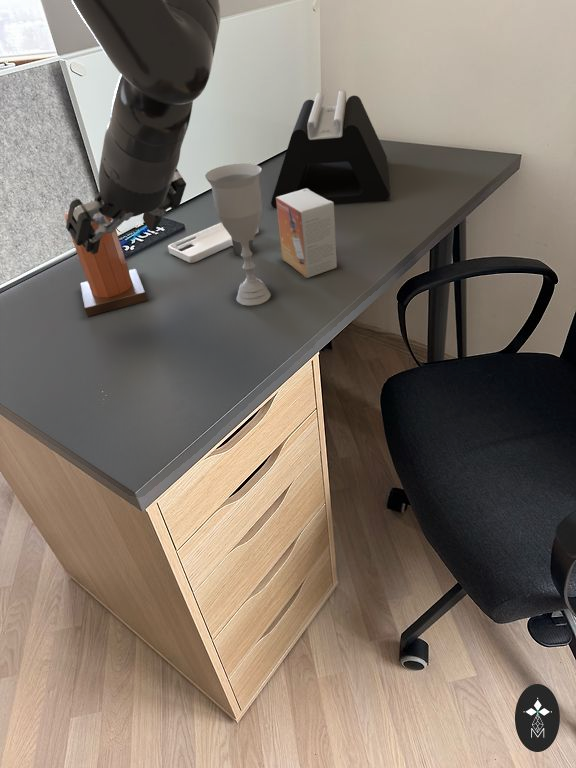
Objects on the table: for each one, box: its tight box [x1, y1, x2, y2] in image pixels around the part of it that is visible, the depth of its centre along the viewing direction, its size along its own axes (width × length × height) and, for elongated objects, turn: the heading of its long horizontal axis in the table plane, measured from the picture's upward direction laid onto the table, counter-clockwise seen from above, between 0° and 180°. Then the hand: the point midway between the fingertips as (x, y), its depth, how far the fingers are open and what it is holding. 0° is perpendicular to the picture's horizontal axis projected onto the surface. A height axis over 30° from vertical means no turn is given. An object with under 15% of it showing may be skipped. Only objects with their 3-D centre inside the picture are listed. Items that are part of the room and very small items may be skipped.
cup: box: [64, 210, 133, 297], centre depth 84 cm, size 6×6×12 cm
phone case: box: [167, 221, 260, 264], centre depth 99 cm, size 7×1×15 cm
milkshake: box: [229, 234, 254, 257], centre depth 92 cm, size 4×5×10 cm
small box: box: [276, 188, 338, 279], centre depth 86 cm, size 8×6×10 cm
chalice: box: [204, 163, 272, 306], centre depth 78 cm, size 7×7×18 cm
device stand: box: [270, 89, 391, 209], centre depth 112 cm, size 22×22×15 cm
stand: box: [79, 268, 148, 318], centre depth 85 cm, size 9×9×12 cm
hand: (120, 236), depth 74 cm, fingers open, 8 cm apart
